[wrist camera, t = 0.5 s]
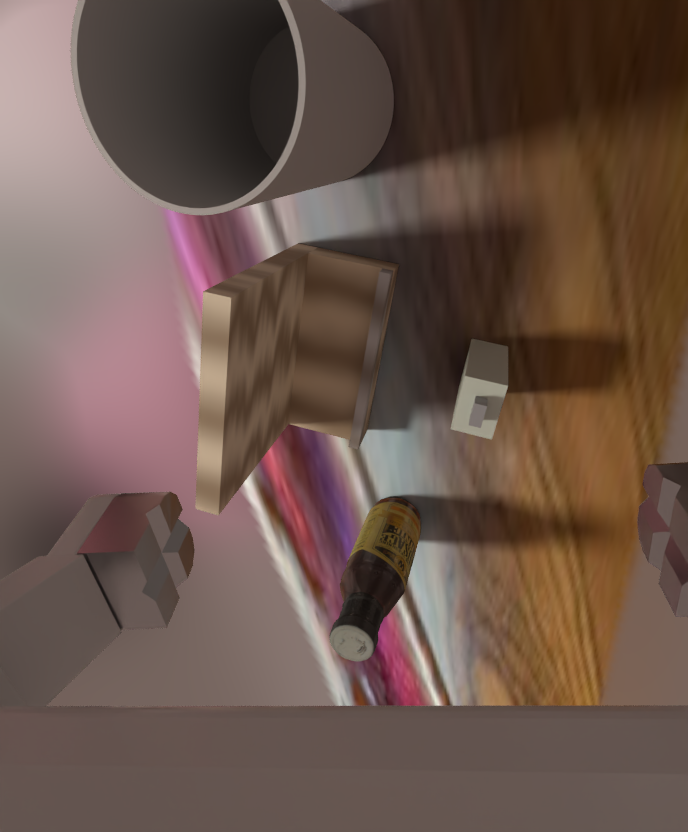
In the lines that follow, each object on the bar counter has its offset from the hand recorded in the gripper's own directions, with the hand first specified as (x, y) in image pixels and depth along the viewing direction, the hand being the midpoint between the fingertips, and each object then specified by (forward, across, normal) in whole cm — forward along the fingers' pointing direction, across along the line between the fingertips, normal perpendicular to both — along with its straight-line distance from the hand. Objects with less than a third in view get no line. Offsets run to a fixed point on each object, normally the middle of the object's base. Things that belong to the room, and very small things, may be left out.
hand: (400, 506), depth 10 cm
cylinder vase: (+49, +6, -4) cm, 49 cm away
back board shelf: (+46, +8, +17) cm, 50 cm away
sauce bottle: (+44, +4, +38) cm, 58 cm away
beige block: (+44, -6, +20) cm, 48 cm away
